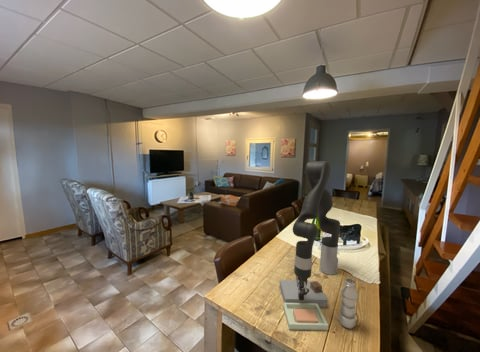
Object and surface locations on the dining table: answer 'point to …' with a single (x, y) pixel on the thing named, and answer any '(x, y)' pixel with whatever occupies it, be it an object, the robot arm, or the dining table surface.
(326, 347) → the dining table surface
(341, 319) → the plastic bottle
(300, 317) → the terracotta tile
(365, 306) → the dining table surface
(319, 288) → the walnut block
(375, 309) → the dining table surface
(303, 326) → the tray
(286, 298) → the grey slab
